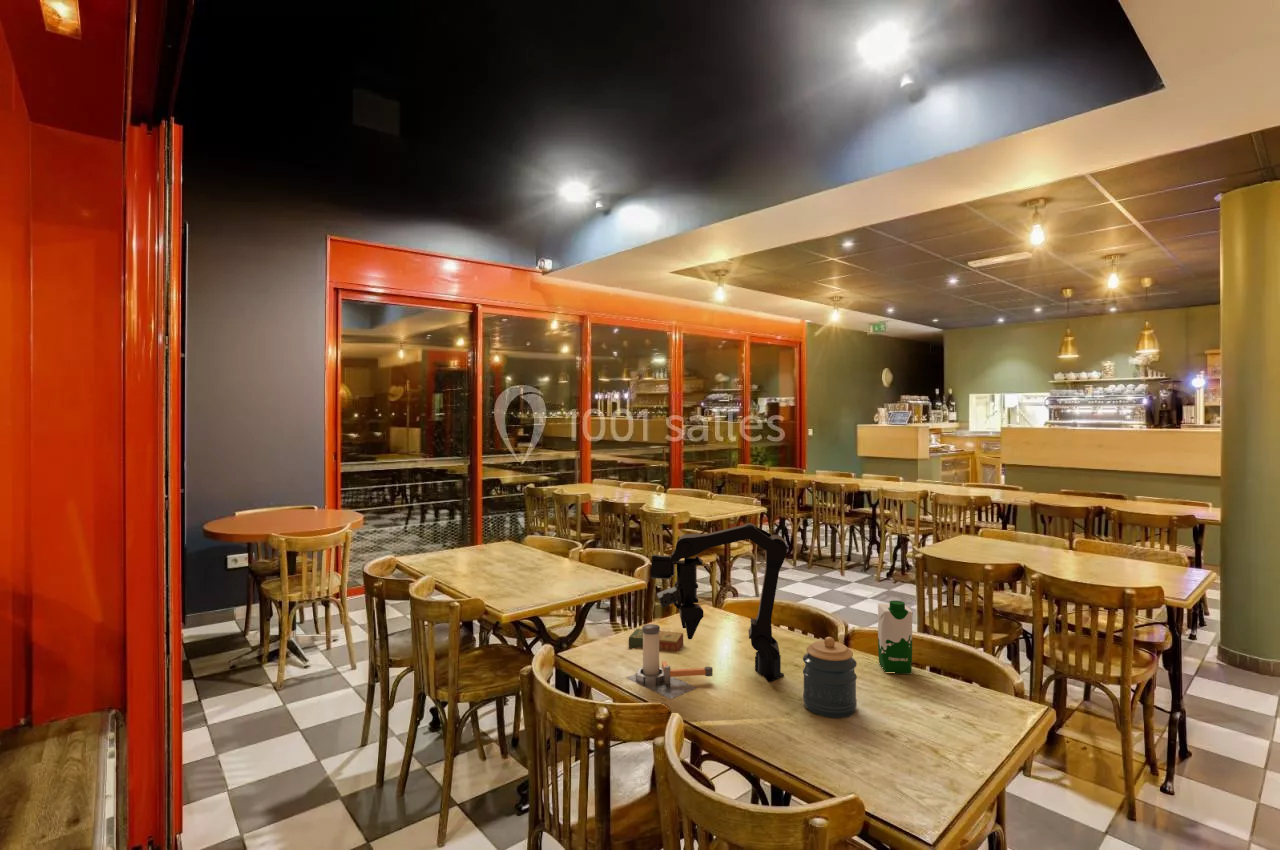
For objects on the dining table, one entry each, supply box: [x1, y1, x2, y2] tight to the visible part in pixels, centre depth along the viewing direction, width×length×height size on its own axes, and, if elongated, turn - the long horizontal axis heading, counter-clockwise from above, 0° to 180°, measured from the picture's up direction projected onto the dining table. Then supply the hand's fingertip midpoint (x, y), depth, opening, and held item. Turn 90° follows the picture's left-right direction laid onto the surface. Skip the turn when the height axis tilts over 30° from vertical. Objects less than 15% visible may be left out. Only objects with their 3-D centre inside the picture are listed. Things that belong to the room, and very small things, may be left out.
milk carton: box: [877, 600, 914, 674], centre depth 182 cm, size 9×9×20 cm
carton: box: [628, 628, 684, 652], centre depth 201 cm, size 8×16×4 cm, turn 72°
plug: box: [641, 623, 661, 676], centre depth 174 cm, size 5×5×14 cm
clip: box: [661, 660, 713, 685], centre depth 174 cm, size 13×8×4 cm, turn 96°
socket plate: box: [625, 665, 698, 700], centre depth 171 cm, size 18×10×3 cm, turn 41°
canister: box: [802, 636, 858, 719], centre depth 158 cm, size 13×13×18 cm
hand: (687, 633), depth 181 cm, fingers open, 9 cm apart
